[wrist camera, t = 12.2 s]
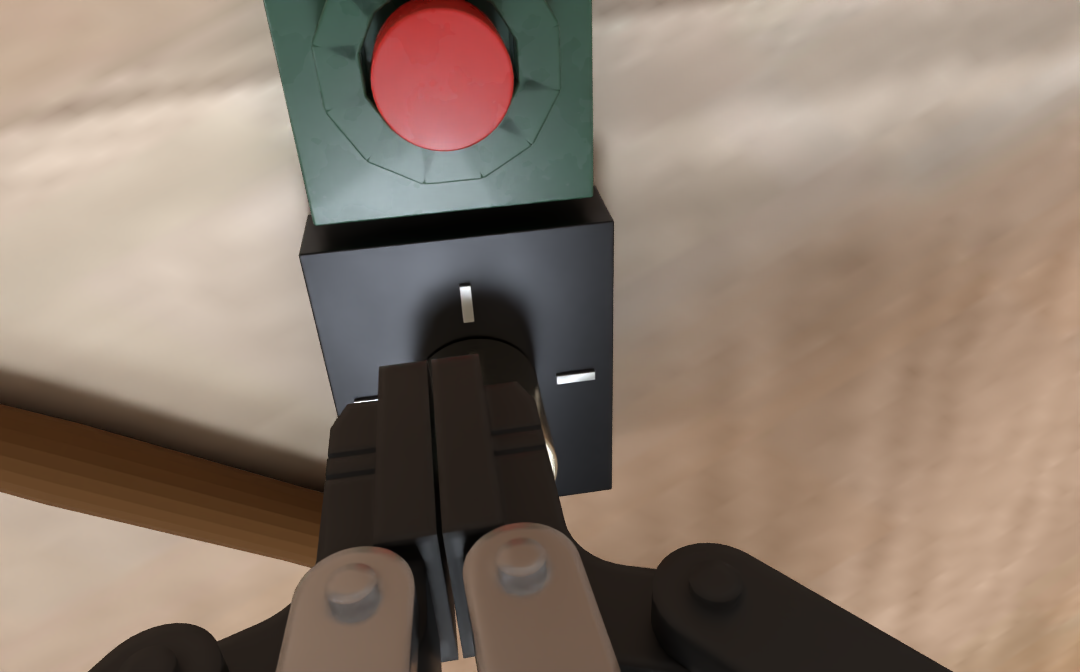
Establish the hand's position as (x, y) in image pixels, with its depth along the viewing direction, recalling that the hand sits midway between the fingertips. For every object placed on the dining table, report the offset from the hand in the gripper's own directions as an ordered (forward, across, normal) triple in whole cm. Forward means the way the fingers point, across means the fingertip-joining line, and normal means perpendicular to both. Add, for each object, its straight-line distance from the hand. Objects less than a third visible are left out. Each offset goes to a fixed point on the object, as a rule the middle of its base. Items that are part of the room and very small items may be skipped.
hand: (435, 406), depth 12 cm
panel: (+16, -1, +9) cm, 19 cm away
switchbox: (+16, -1, -2) cm, 16 cm away
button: (+12, -1, -2) cm, 12 cm away
